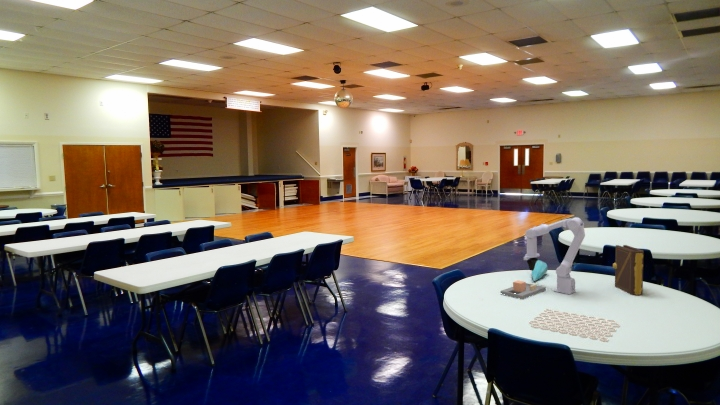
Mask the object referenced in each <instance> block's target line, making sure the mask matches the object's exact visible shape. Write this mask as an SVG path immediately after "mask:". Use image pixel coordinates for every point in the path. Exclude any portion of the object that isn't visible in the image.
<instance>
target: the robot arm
mask: <svg viewBox="0 0 720 405" xmlns="http://www.w3.org/2000/svg"><path fill="white" fill-rule="evenodd" d="M584 226H585V223H584V221H583V220H582V219H581V218H580V217H578V216H575V217H570V218H564V219H561V220H559V221H556V222H553V223H550V224H547V223H541V224H539V225H538V226H532V227H531V228H528V229H527V230H526V231H525V236H526V254H524V256H523V261H526V263H527V265H528V269H529V271H532V270H534V267H535V264H536V262H537V261H538V260H539V259H538V258H539V257H540V252H539V253H538V249H537V248H538V247H537V246H538V245H537V244H538V241H537V240H538V239H537V238H538V237H540V236H543V235H545V234H546V235H547V234H549V233H550V231H552V230H555V229H558V228H561V227H562V228H566V229H569V231H571V233H572V234H573V238H572V241H571V243H570V245H569V247H568V250H567V252H566V254H565V256H564V257H563V260H562V262H560V265H559V266H558V267H557V268H556V269H555V273H556V289H554V290H553V292H556V293H562V294H566V295H571V294H573V293H576V292H577V291H576V279H575V278H574V277H572V276H571V274H570V273H571V272H572V266H573V262H574V260H575V258H576V256H577V254H578V251H579V249H580V247H581V245H582V243H583V242H584V239H585V236H586V233H585V227H584Z"/></svg>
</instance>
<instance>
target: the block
mask: <svg viewBox="0 0 720 405" xmlns="http://www.w3.org/2000/svg"><path fill="white" fill-rule="evenodd" d="M526 283H527V282H526V281H524V280H514V281H513V282H512V287H513V290H514V291H518V292H523V291H525V290H526Z"/></svg>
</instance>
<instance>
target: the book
mask: <svg viewBox="0 0 720 405" xmlns="http://www.w3.org/2000/svg"><path fill="white" fill-rule="evenodd" d="M644 252H645V251H644V250H643V249H640V248H636V247H633V246H630V245H627V244H623V245H620V244H615V256H614V257H615V258H614V263H612V268H613V269H614V287H615V288H617V289H619V290H621V291H623V292H625V293H626V294H628V295H631V296H643V292H644V291H643V289H644V283H643V282H644V256H645V254H644Z"/></svg>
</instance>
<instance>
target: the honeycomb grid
mask: <svg viewBox="0 0 720 405" xmlns="http://www.w3.org/2000/svg"><path fill="white" fill-rule="evenodd" d="M543 311H544V312H540V313H539V314H538V315H539V316H535V317H533V319H534V320H529V321H528V323H529V324H528V325H530V327H532V329H540V330H543V331H550V332H553V333H558V332H559V333H561V334H564V335H565V334H566V335H567V334H568V335H570V336H572V337H573V336H579V337H581V338H583V339H584V338H589V339H591V340H594V341H595V340H596V341H597V340H599V341H601V342H604V343H606V342H607V343H608V342H609V341H610V340H609V339H610V337H613V333H616V331H617V328H620V326H621V324H619V323H618V321H616V320H614V319H606V318H603V317H596V316H588V315H585V314H578V313H570V312H568V311H560V310H553V309H550V308H544V310H543ZM607 337H609V338H607Z"/></svg>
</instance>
